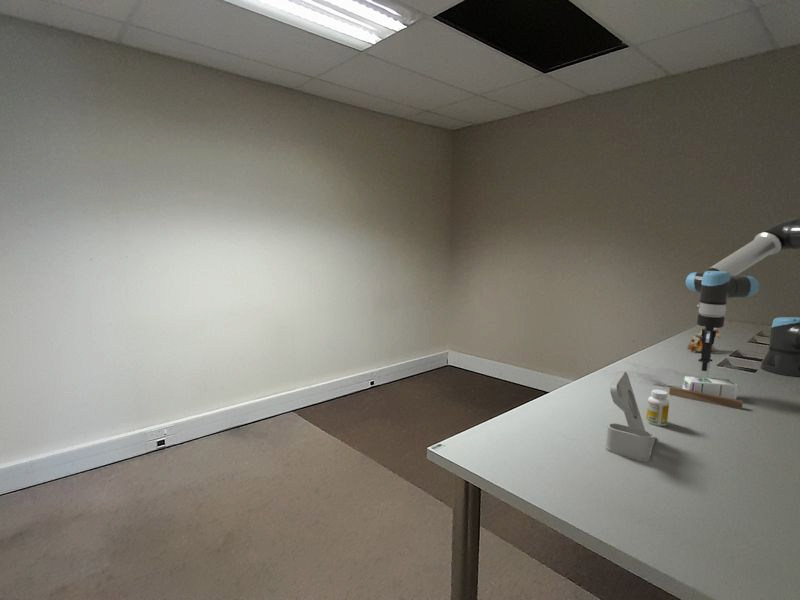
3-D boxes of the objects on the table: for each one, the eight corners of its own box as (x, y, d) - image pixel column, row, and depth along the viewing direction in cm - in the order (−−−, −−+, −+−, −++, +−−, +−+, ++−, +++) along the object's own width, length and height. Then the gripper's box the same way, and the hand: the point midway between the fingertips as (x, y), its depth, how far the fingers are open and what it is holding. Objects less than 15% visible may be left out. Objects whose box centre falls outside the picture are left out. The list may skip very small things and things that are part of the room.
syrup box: (738, 385, 139) (690, 380, 143) (736, 401, 140) (688, 396, 144) (729, 379, 145) (683, 375, 148) (727, 395, 146) (681, 390, 149)
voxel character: (683, 353, 205) (697, 337, 211) (705, 363, 198) (719, 345, 204) (689, 337, 198) (703, 321, 204) (711, 347, 191) (726, 329, 197)
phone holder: (648, 463, 101) (655, 394, 98) (603, 450, 107) (608, 385, 104) (656, 437, 114) (662, 375, 112) (616, 426, 121) (621, 368, 118)
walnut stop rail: (669, 392, 147) (670, 386, 147) (741, 407, 135) (742, 400, 134) (669, 394, 146) (669, 388, 145) (741, 409, 133) (742, 402, 133)
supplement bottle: (664, 419, 125) (667, 389, 124) (669, 427, 120) (672, 396, 119) (644, 417, 127) (647, 387, 125) (648, 424, 122) (651, 393, 120)
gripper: (699, 310, 151) (692, 371, 155) (696, 316, 141) (688, 381, 145) (725, 313, 146) (717, 376, 150) (724, 319, 137) (715, 386, 141)
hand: (703, 378), depth 148 cm, fingers closed
